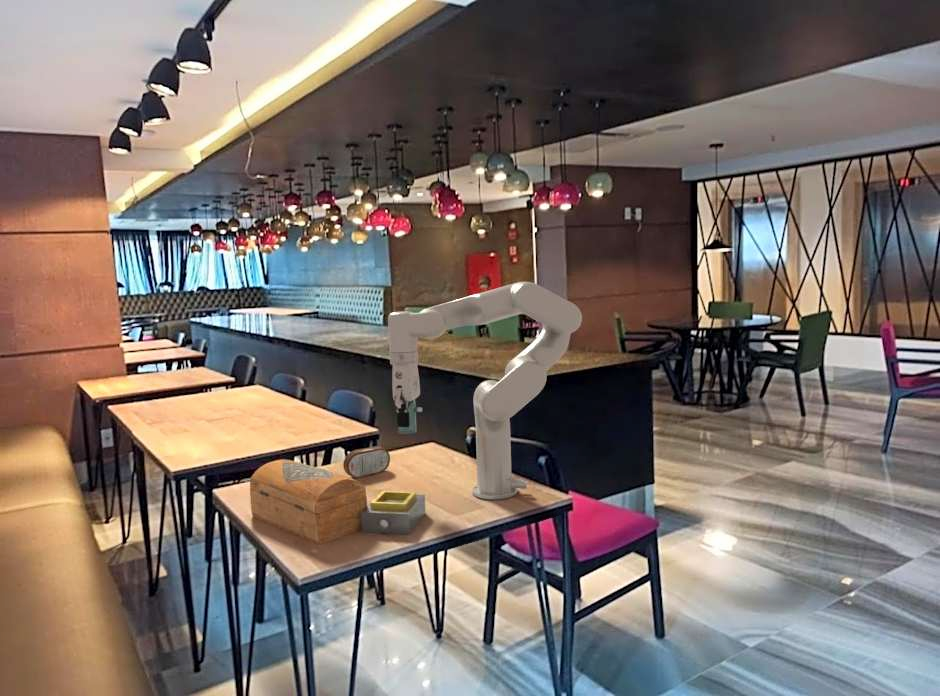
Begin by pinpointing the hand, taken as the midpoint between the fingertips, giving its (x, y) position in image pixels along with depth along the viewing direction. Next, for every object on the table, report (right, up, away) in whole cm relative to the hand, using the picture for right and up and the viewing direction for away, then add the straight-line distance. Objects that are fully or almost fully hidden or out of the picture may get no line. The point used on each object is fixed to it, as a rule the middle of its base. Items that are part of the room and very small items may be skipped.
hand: (407, 423), depth 186 cm
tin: (-14, -19, +27) cm, 36 cm away
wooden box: (-24, -24, -10) cm, 35 cm away
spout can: (0, -2, 0) cm, 2 cm away
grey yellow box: (-2, -23, -14) cm, 27 cm away
